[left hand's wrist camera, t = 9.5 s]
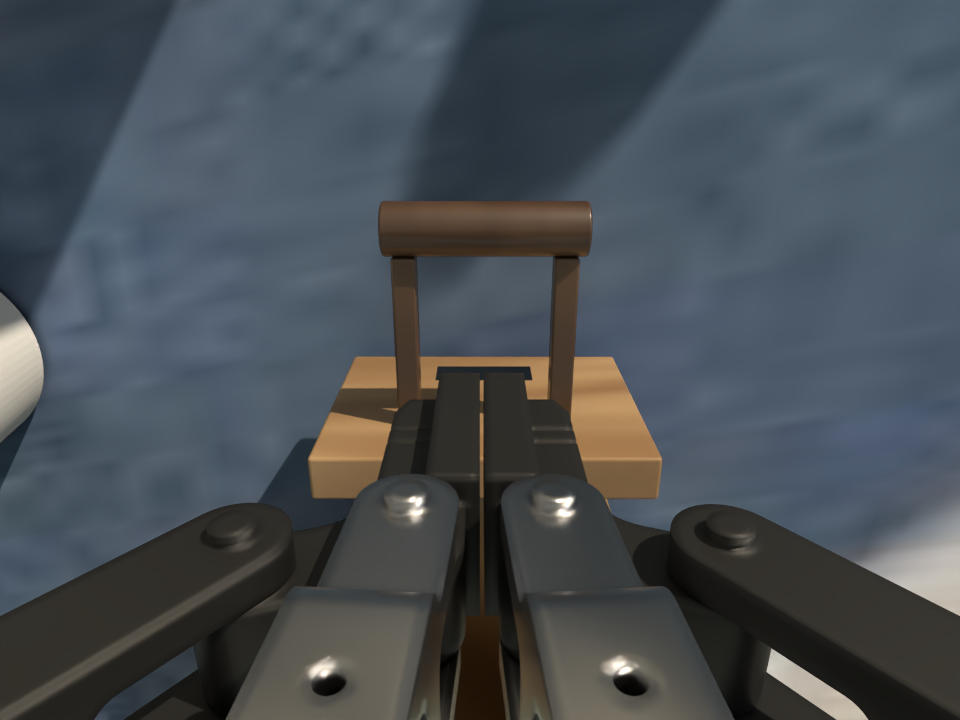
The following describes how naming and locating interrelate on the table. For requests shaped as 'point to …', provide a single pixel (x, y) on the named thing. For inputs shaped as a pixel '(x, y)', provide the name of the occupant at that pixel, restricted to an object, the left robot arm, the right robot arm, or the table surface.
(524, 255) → the drawer
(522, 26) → the table surface
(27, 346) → the coffee cup
